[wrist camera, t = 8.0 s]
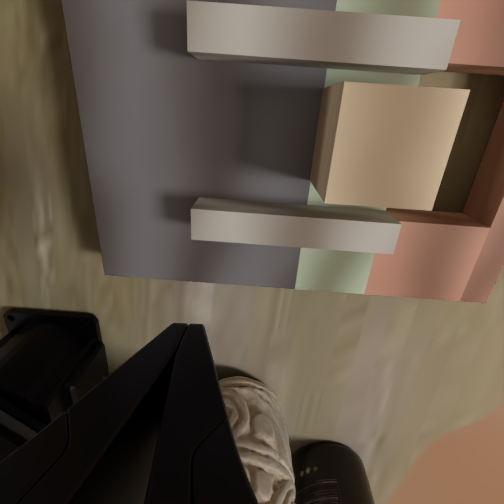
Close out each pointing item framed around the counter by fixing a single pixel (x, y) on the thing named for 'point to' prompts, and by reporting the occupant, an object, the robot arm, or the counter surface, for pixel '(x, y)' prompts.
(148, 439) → the robot arm
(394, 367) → the counter surface
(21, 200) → the counter surface
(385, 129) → the maple block
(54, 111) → the counter surface
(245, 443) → the carving
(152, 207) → the channel deck
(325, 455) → the supplement bottle
